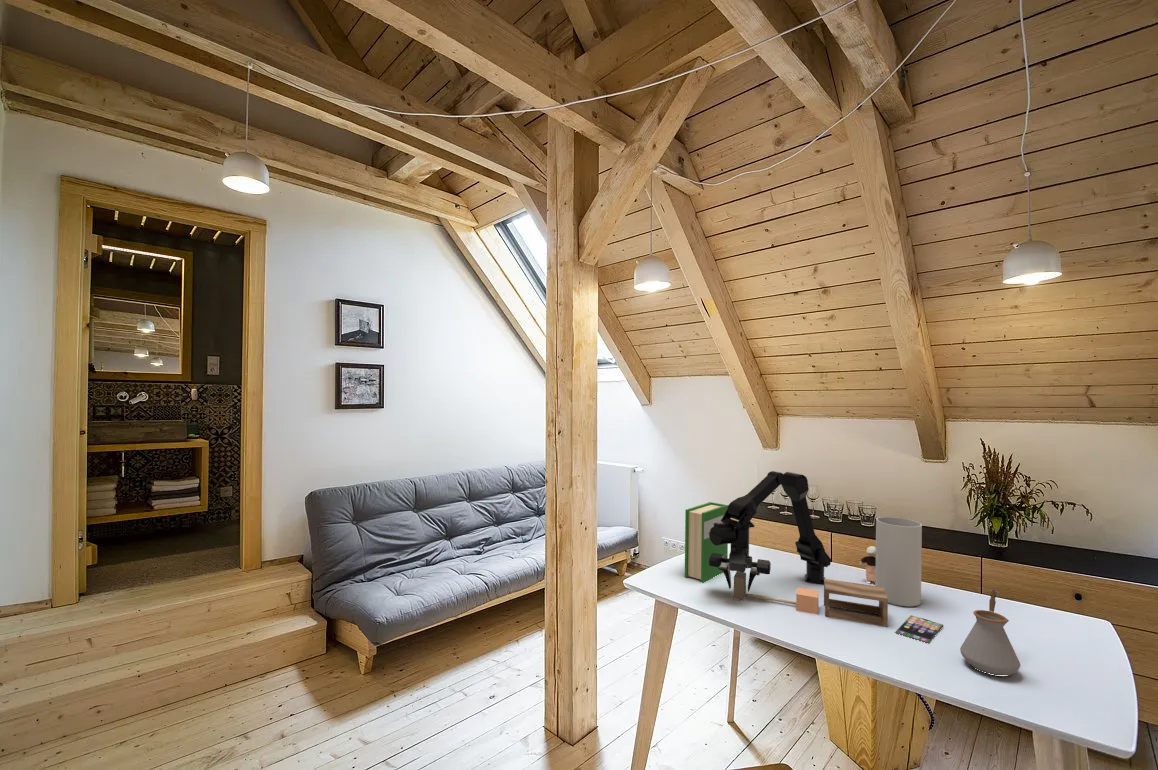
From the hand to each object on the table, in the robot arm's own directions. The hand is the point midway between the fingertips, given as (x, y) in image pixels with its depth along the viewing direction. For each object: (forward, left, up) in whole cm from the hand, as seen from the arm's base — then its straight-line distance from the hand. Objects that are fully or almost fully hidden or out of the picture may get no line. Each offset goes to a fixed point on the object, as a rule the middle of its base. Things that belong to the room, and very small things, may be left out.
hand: (739, 589), depth 168 cm
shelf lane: (0, +33, -2) cm, 33 cm away
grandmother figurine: (-32, +41, -2) cm, 52 cm away
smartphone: (+3, +49, -3) cm, 49 cm away
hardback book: (-16, -13, -2) cm, 21 cm away
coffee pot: (+15, +62, -2) cm, 64 cm away
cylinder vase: (-19, +47, -2) cm, 51 cm away
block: (+1, +11, -2) cm, 11 cm away
